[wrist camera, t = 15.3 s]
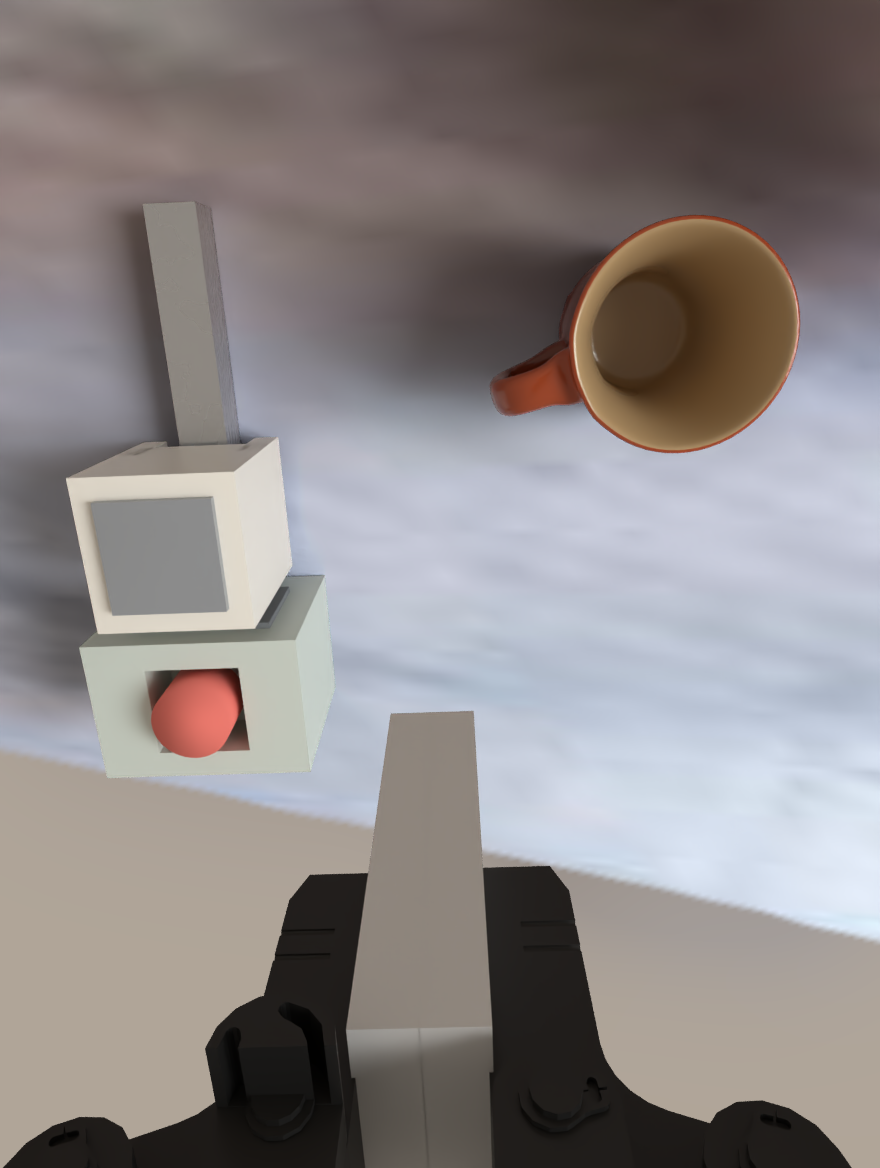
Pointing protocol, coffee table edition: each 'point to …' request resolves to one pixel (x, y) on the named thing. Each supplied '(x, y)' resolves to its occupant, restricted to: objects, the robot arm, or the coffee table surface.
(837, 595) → the coffee table surface
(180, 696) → the button
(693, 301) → the mug
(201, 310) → the rail
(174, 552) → the cream and grey block
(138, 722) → the end cabinet
